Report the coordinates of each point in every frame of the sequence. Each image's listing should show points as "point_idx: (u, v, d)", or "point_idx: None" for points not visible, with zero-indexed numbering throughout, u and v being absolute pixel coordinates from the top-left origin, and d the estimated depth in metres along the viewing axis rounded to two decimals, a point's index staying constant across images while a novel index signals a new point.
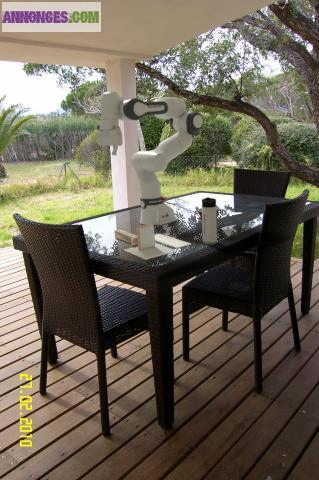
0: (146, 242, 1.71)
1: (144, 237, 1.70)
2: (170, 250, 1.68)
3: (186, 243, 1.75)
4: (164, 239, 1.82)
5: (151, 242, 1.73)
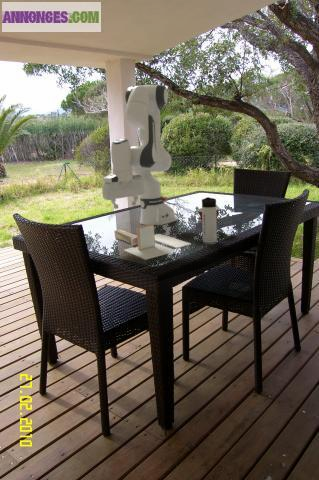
0: (146, 242, 1.71)
1: (144, 237, 1.70)
2: (170, 250, 1.68)
3: (186, 243, 1.75)
4: (164, 239, 1.82)
5: (151, 242, 1.73)
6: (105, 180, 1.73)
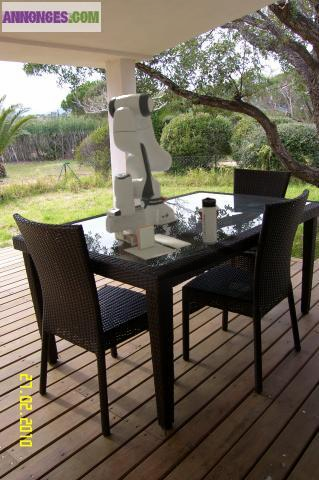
0: (146, 242, 1.71)
1: (144, 237, 1.70)
2: (170, 250, 1.68)
3: (186, 243, 1.75)
4: (164, 239, 1.82)
5: (151, 242, 1.73)
6: (108, 214, 1.77)
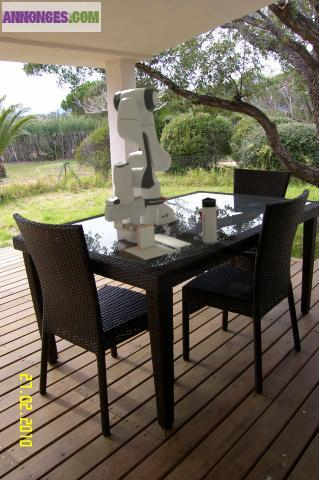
0: (146, 242, 1.71)
1: (144, 237, 1.70)
2: (170, 250, 1.68)
3: (186, 243, 1.75)
4: (164, 239, 1.82)
5: (151, 242, 1.73)
6: (107, 202, 1.76)
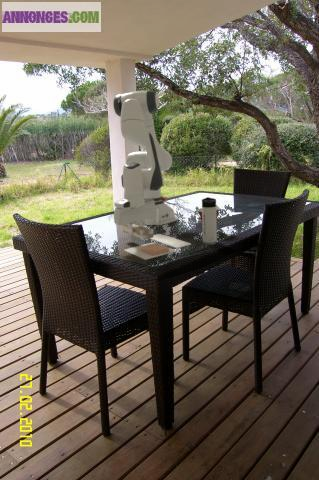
0: None
1: None
2: (170, 250, 1.68)
3: (186, 243, 1.75)
4: (164, 239, 1.82)
5: None
6: (117, 205, 1.69)
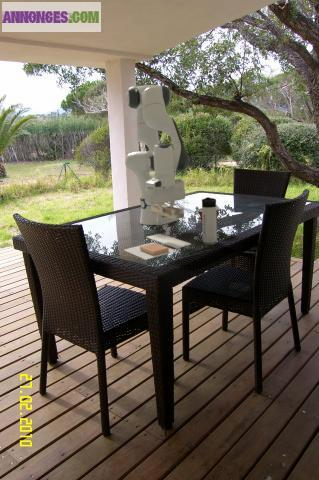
0: None
1: None
2: (170, 250, 1.68)
3: (186, 243, 1.75)
4: (164, 239, 1.82)
5: None
6: (148, 185, 1.69)
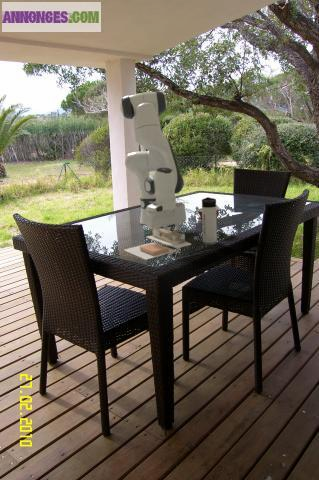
0: None
1: None
2: (170, 250, 1.68)
3: (186, 243, 1.75)
4: None
5: None
6: (149, 209, 1.72)
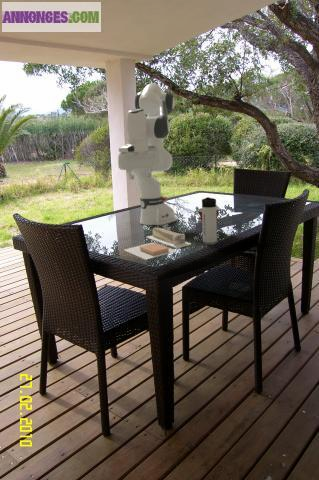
0: None
1: None
2: (170, 250, 1.68)
3: (186, 243, 1.75)
4: None
5: None
6: (121, 150, 1.72)
